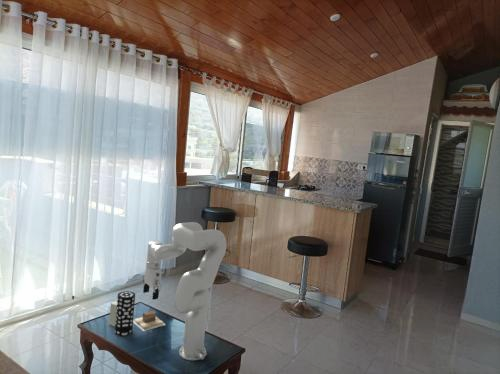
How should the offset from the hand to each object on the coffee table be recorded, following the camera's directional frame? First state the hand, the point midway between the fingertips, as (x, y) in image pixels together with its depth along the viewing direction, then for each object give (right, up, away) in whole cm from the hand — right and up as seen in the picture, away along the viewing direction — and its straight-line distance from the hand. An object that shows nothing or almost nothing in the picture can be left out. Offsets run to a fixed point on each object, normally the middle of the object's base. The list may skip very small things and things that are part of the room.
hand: (150, 295), depth 190 cm
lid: (-1, -15, +1) cm, 15 cm away
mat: (-1, -15, +1) cm, 16 cm away
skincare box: (-17, -14, -3) cm, 22 cm away
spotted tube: (-11, -16, -11) cm, 22 cm away
